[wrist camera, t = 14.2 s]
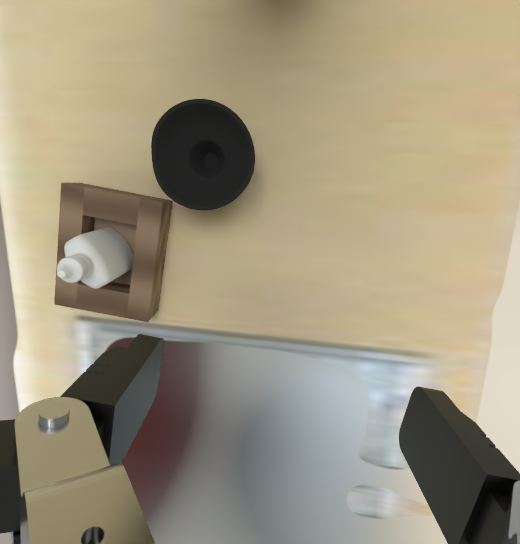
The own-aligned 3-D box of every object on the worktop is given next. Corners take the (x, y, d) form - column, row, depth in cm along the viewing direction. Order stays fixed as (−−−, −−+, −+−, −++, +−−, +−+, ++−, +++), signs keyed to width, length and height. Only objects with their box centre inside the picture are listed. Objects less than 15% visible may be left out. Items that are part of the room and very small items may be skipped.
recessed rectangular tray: (80, 182, 42) (61, 182, 38) (172, 201, 43) (162, 202, 39) (72, 294, 46) (54, 304, 42) (158, 310, 46) (147, 321, 42)
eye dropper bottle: (101, 272, 44) (41, 304, 32) (96, 226, 43) (31, 242, 31) (136, 272, 44) (89, 304, 32) (132, 226, 42) (81, 242, 31)
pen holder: (274, 156, 41) (275, 147, 32) (224, 220, 43) (212, 230, 33) (208, 101, 40) (189, 74, 30) (160, 169, 42) (128, 165, 32)
